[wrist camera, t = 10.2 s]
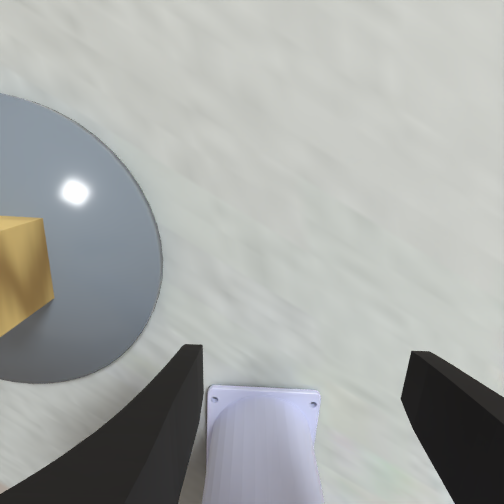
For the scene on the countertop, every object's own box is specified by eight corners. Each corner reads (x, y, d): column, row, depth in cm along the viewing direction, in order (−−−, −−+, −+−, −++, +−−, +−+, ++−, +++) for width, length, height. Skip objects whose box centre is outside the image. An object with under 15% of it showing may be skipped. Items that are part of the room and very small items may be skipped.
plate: (166, 379, 22) (162, 390, 21) (-89, 367, 22) (-105, 376, 21) (158, 103, 17) (152, 100, 16) (-181, 82, 17) (-208, 78, 16)
